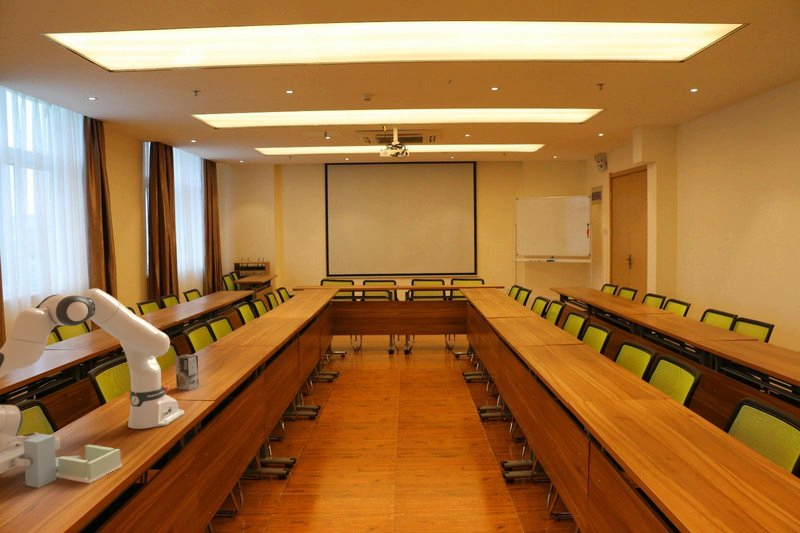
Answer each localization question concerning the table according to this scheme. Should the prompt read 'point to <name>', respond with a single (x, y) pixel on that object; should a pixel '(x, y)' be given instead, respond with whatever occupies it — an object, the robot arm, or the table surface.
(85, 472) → the cradle
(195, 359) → the coffee box
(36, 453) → the block
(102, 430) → the table surface
